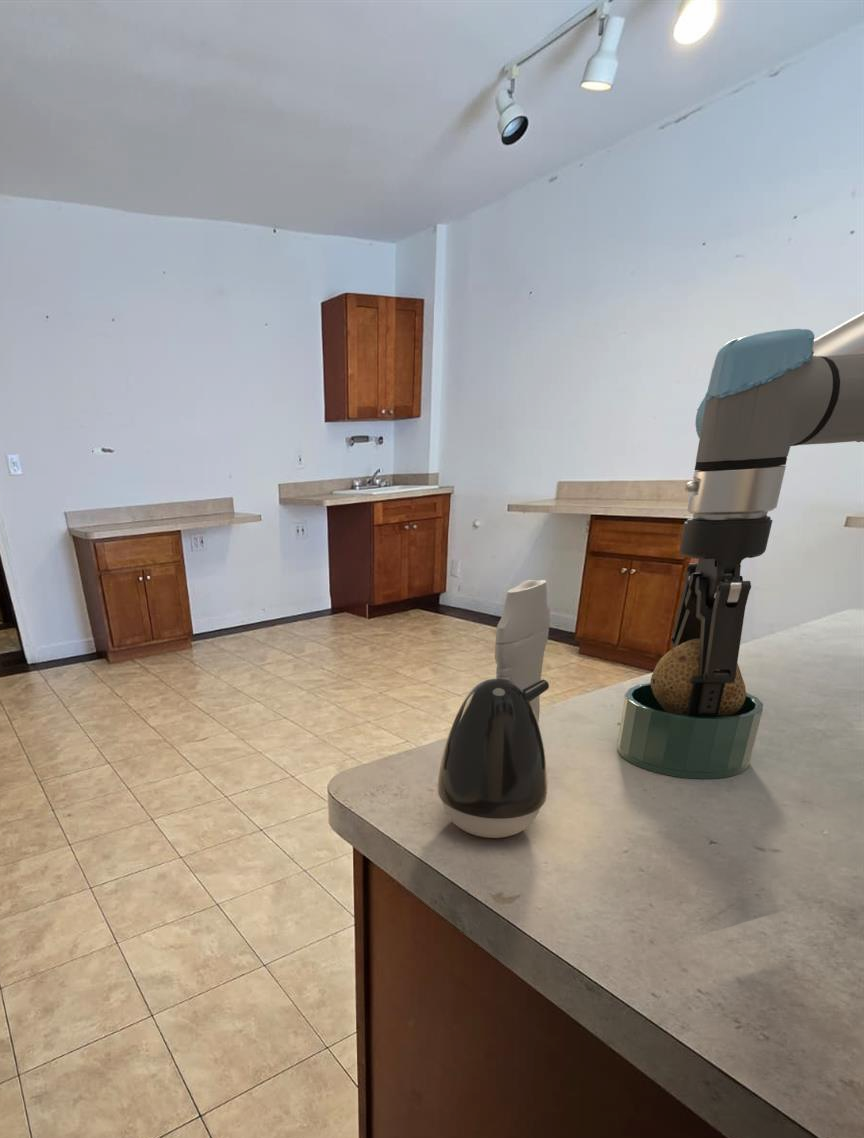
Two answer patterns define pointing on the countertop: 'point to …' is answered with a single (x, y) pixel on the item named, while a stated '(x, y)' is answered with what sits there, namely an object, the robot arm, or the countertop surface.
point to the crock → (686, 738)
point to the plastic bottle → (523, 636)
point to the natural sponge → (675, 681)
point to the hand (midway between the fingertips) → (686, 722)
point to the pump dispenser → (494, 761)
